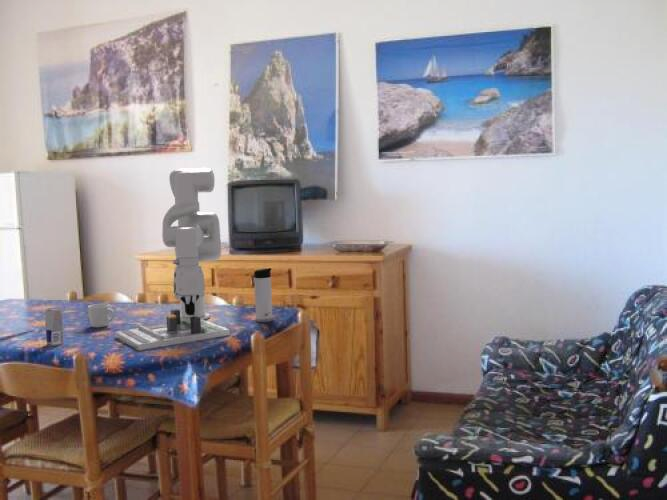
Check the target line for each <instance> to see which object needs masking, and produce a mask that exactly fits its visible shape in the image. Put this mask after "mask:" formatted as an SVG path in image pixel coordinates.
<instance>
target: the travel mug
mask: <svg viewBox="0 0 667 500" xmlns="http://www.w3.org/2000/svg"><path fill="white" fill-rule="evenodd" d="M271 271H272V267H269V268H262V269H256V270H254V272H253V276H254V277H253V279H254V280H253V281H254V303H255V304H254V305H255V321H256V323H269V322H272V321H273V300H272V299H273V298H272V297H273V296H272V277H271V276H272V275H271Z"/></svg>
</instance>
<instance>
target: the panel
mask: <svg viewBox="0 0 667 500" xmlns="http://www.w3.org/2000/svg"><path fill="white" fill-rule="evenodd" d="M170 315H176V322H177V330H174V331H169V330H167V323H165V324H157V325H152V326H144V325H138V327H137V328H132V329H124V330H119V331H118V330H117V331H114V332H115V333H114V334H115V339H117V340H119V341H121V342H123V343H124V344H126V345H128V346H130V347H132V348H134V349H135V350H136V351H144V350H151V349H155V348H156V349H157V348H163V347H168V346H173V345H180V344H185V343H191V342H196V341H197V340H198V341H203V340H209V339H215V338H221V337H226V336H230V329H229V328H227V327H224V326H222V325H219V324H215V323H213V322H211V321H209V320H208V321H207V320H206V319H204V320H203V319H200V317H197V316H196V317H190V321H185V320H183V319H180V315H181V309H178V308H174V309H170Z"/></svg>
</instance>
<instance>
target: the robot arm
mask: <svg viewBox="0 0 667 500" xmlns="http://www.w3.org/2000/svg"><path fill="white" fill-rule="evenodd" d="M169 185H170V189H171V192H172V195H173V196H174V197H173V198H174V204H173V205H172V206H171V207H170V208H169V209H168V210H167V211H166V213H165V214H164V216H163V220H162V233H161V236H162V243H163V244H164V246H165V247H167V248H174V252H175V257H176V258H175V260H172V265H175V266H174V267H175V268H174V272H173V294H174V297H173V298H174V300H179V304H180V305H179V308H180V319H183V320H185V321H190V317H196V316H197V317H200V319H203V320H208V319H209V318H210V317H211V315H210V313H208V312H206V295H205V294H206V293H205V291H206V284H205V277H204V276H205V275H204V272H203V268H202V265H200V264H199V263H204V262H205V263H207V262H216V261H218V260H220V258H221V256H222V244H221V242H222V241H221V227H220V220H219V216H218V214H217V213H215V212H212V211H211V212H210V211H205V212H200V202H199V195H198V194H201V193H212V192H214V191H213V190H214V189H215V174H214V171H213V169H211V168H210V167H207V168H206V167H202V168H201V167H200V168H199V167H198V168H178V169H175V170H172V171H171V172H170V174H169ZM176 221H177V226H176V225H175V226H174V225H173V223H175V222H176ZM172 225H173V226H172Z"/></svg>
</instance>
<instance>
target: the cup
mask: <svg viewBox="0 0 667 500" xmlns="http://www.w3.org/2000/svg"><path fill="white" fill-rule="evenodd" d="M87 312H88V313H87V314H88V318H89V323H90V327H92V328H104V327H108V325H110V322H112V321H114V320H115V318H116V313H115V312H116V311H115V310H114V309H113V308H111V305H110V304H109V303H96V304H89V305H88V306H87ZM110 313H111V317H110Z"/></svg>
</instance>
